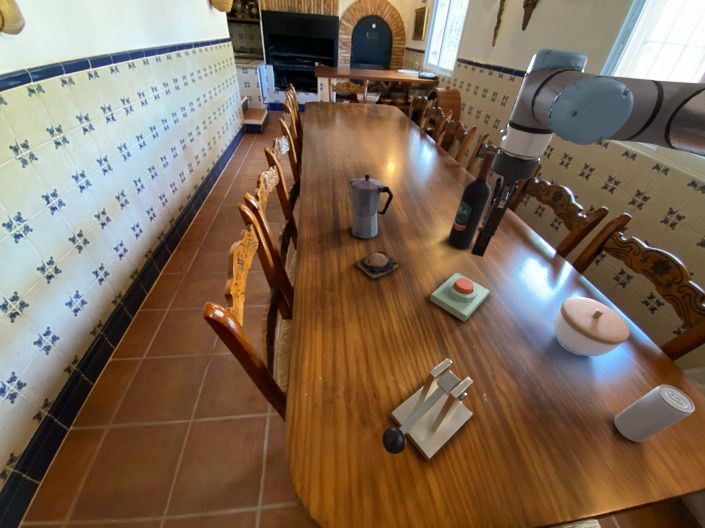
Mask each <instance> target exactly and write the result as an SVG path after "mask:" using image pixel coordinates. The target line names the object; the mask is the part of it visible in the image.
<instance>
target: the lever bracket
mask: <svg viewBox="0 0 705 528" xmlns="http://www.w3.org/2000/svg"><path fill="white" fill-rule="evenodd" d="M452 365H453V361H452V360H451V359H450V358H447V357H446V358H445V359H444V360H443V361H442V362H441V363H439V365H435V366H433V367H432V369H431V371H429V373H428V376H427V378H426V380H425V382H424V385H423V386H421V388H419V389H418V390H417V391H416V392H415V393H413V394H412V395H411V396H410V397H408V398H407V399H406V400H404V402H402V403H401V404H400V405H399V406H397V407H396V408H395V409H394V410H393V411H391V413H390V417H391V419H392V420H393V421H394V422H395V424H396V425H397V426H398V428H400V427H401V426H402V425H403V424H404V423H405V422H406V421H407V420H408V419H409V418H410V416H411V415H412V414H413V413H414V412H415V411H416V410H417V409H418V408H419V407H420V406H421V405H422V404H423V403H424V402H425V401H426V400H427V399H428V398H429V396H430V395H431V394H432V393H433V392H434V391H435V390H436V389H437V388H438V386H437V381H438V380H439V379H440V378H441V377H442V376H443V375H444V374H445V373H446V372H447V371H448V370H450V368H451V366H452ZM473 383H474V380H472V379H471V378H470V377H469V376H467V377H466V378H465V379H463V380H462V382H460V384H459V385H458V386H457V387H456V388H455V389H454V390H453V391H452V392H451V393H450V395H449V396H447V395H446V394H445V393H444V394H443V395H442V396H441V398H440V399H439V400H438V401H437V402H436V403H435V404H434V405H433V406H432V407H431V408H430V409H429V410H428V411H427V412H426V414H425V415H424V416H423V417H422V418H421V419H420V420H419V421H418V422H417V423H416V424H415V425H414V426H413V427H412V428H411V429H410V431H409V432H408V433H407V434H406V435H405V437H406V438H408V440H410V442H411V443H412V444H413V446H414V447H415V448H416V449H417V450H418V452H419V453H420V454H421V456H422V457H423V458H424V459H425V460H426V461H427V462H429V461H430V460H431V459H432V458H433V457H434V456H435V455H436V454H437V453H438V451H439V450H441V448H443V447H444V446H445V444H446V443H447V442H449V441H450V439H451V438H452V437H453V436H454V435H455V434H456V433H457V432H458V431H459V430H460V429H461V428H462V427H463V426H464V425H465V424H466V423H467V422H468V420H470V419H471V417H472V416H473V412H472V411H471V410H470V409H469V408H467V406H466V405H464V404H463V403H462V401H464V399H466V397H468V394H467V393H468V391H469V389H471V386H472V384H473Z"/></svg>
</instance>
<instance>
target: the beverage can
mask: <svg viewBox="0 0 705 528" xmlns="http://www.w3.org/2000/svg"><path fill="white" fill-rule="evenodd" d="M695 410H696V407H695V404H694V402H693V401H692V399H691V398H690V397H689V396H688V395H687V394H685V392H683V391H682V390H680V389H678V388H677V387H674V386H672V385H669V384H661V385H659V386H658V385H657V386H656V387H654V388H653V389H652V390H650V391H648V392H647V393H646V394H644V395H643V396H642V397H640V398H639V399H637V400H636V401H635V402H633V403H631V405H629V406H628V407H626V408H625V409H624V410H622V411H620V412H619V413H618V414H615V416H614V418H613V420H614V425H615V427H616V429H617V431H618V432H619V433H620V434H621V435H622V436H623V437H624V438H626V439H627V440H630V441H632V442H634V443H643V442H645V441H647V440H649V439H650V438H652V437H654V436H656V435H657V434H659V433H661V432H664V430H666V429H668V428H670V427H671V426H673V425H675V424H676V423H679V422H680V421H682V420H684V419H685V418H687V417H689V416H691V415H692V414H693V412H695Z"/></svg>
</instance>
